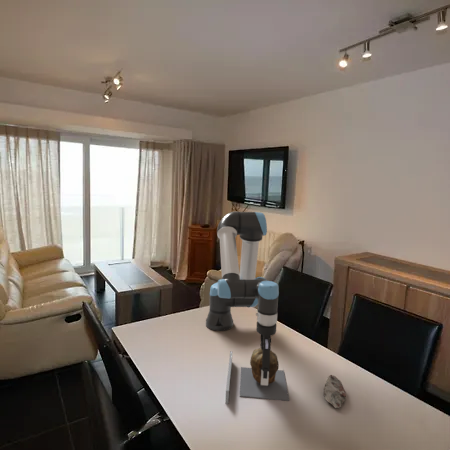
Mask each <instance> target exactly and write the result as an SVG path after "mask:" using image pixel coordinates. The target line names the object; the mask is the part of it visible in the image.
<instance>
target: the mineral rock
mask: <svg viewBox="0 0 450 450" xmlns="http://www.w3.org/2000/svg"><path fill="white" fill-rule="evenodd" d="M323 396H324V400H326V402H328V403H330V404H331V405H332V406H333V407H334V408H335V409H339V408H341V407H342V405H343V404H344V402H345V401H346V399H347V391H346V390H345V388H344V385H343V383H342V382H341V380H340V379H339V378H338V377H336V376H335V375H333V374H330V375H328V377H327V380H326V382H325V383H324V388H323Z"/></svg>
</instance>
